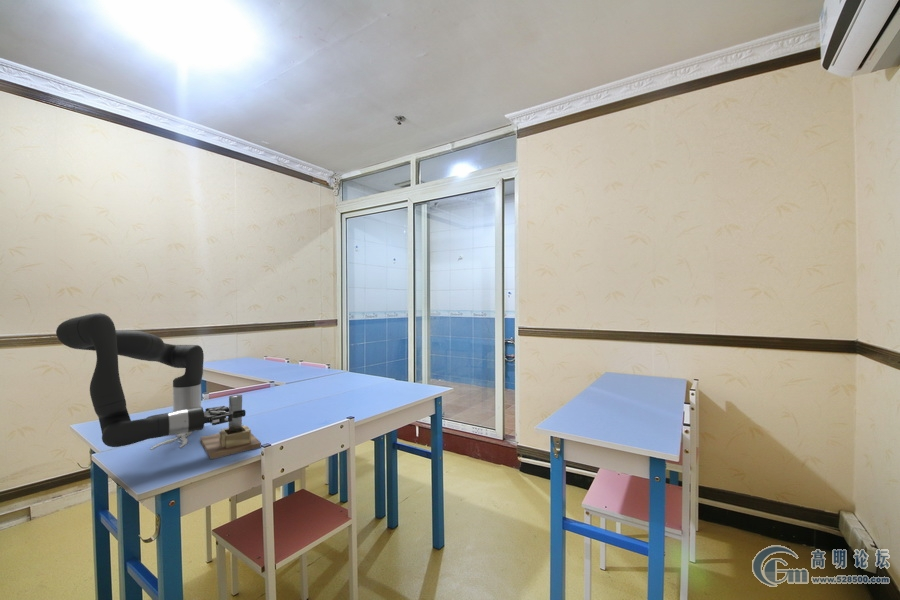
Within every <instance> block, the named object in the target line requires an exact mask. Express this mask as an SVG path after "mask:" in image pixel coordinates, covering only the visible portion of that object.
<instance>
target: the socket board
mask: <svg viewBox="0 0 900 600" xmlns="http://www.w3.org/2000/svg"><path fill="white" fill-rule="evenodd" d="M228 433H229V427H227V428H222V429H220V430H219V431H218V433H214V434H209V435H205V436H201V437H199V438H200V440H199V442H200V443H202V444H201V445H202V447H203V449H204V448H205V449H204V450H206V451H205V452H206V454H207V456H208V455H209V456H208V458H209V459H210V460H214V459H218V458H222V457H226V456H230V454H231V455H233V454H234V453H235V454H239V453H242V451H243V452H247V451H250V450H254V449H259V448H261V447H262V442H261V441H260V440H259V439H258V438H257V437H256V436H255V435H254V434H253V432H252V430H251V428H250V427H249V426H248V425H244V424H242V432H237V433H233V434H228ZM260 446H261V447H260ZM213 458H214V459H213Z"/></svg>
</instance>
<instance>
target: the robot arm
mask: <svg viewBox="0 0 900 600" xmlns="http://www.w3.org/2000/svg"><path fill="white" fill-rule="evenodd" d="M55 332H56V333H55V334H56V337H57V339H58V341H59V342H60V343H61V344H63V345H64V346H65V347H68V348H70V349H74V350H82V351H95V353H96V362H95V367H94V371H93V373H92V377H91V380H90V384H89V395H90V399H91V402H92V406H93V409H94V412H95V414H96V416H97V417H98V421H99V425H100V430H101V441H102V442H103V444H104V445H105V446H107V447H110V448H120V447H126V446H130V445H133V444H137V443H141V442H143V441H146V440H150V439H158V438H162V437H167V436H174V435H175V436H177V434H183V433H188V432H192V433H193V432H196V431H197V432H198V431H202V430H203V429H204V428H205V424H211V426H217V425H221V424H226V423H229V422H231V421H232V419H233V418H238V417H242V418H243V417H246V413H247V411H246V409H242V410H239V411H233V412H229V406H225V405H222V406H221V405H220V406H214V407H208V408H205V410H204V409H203V407H202V379H203V375H204V361H205V360H204V359H205V358H204V350H203V348H202V347H201V346H200V345H198V344H170V343H166V342H164V340H163V339H162V338H161V337H159V336H157V335H156V334H151V333H148V332H146V331H140V330H127V329H126V330H125V329H122V330H121V329H116V326H115V324H114V321H113V320H112V318H111V317H110V316H109V315H107V314H105V313H101V312H96V313H91V314H86V315H81V316H77V317H73V318H69V319H66V320H65V321H62V322H61V323H60V324H59V325H58V326H57V327H56V331H55ZM119 356H121V357H125V358H130V359H134V360H140V361H147V362H158V363H160V364H164V365H166V366H168V367H172V368H176V369H185V371H184V374H183V375H181V376H179V377H178V376H177V377H175V378H174V379H173V380H172V411H170V412H166V413H159V414H154V415H150V416H147V417H145V418H140V419H133V420H132V419H131V416H130V414H129V410H128V408H127V401H126V398H125V397H126V396H125V393H124V389H123V386H122V383H121V382H122V381H121V377H120V371H119V368H120V367H119Z"/></svg>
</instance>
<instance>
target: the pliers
mask: <svg viewBox="0 0 900 600" xmlns="http://www.w3.org/2000/svg"><path fill="white" fill-rule="evenodd" d="M192 433H193V432H188V433H183V434H177V435H176V437H174V438H171V439H167V440H165V441H162V442H159V443H156V445H154V446H152V447H150V451H153V450H155V449H157V448H158V447H160V446H163V445H167V444H173V443H175V441H177V442H178V443H179V444H181V445H180V446H179V449H182V448H183V447H185V446H186V445H187V444H188V442H189V440H188V438H187V437H188V436H190V435H192ZM180 438H181V439H180ZM176 439H177V440H176ZM162 444H163V445H162ZM154 448H155V449H154ZM152 449H153V450H152Z"/></svg>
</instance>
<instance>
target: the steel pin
mask: <svg viewBox="0 0 900 600" xmlns="http://www.w3.org/2000/svg"><path fill="white" fill-rule="evenodd" d="M228 408H229V412H233V411H239V410H243V395H242V394H234V395H230V396H229V397H228ZM242 421H243V417H238V418H233V419H232V421H231V422H228V428H229V433H228V434H233V433H237V432H242V425H243V422H242Z"/></svg>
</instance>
